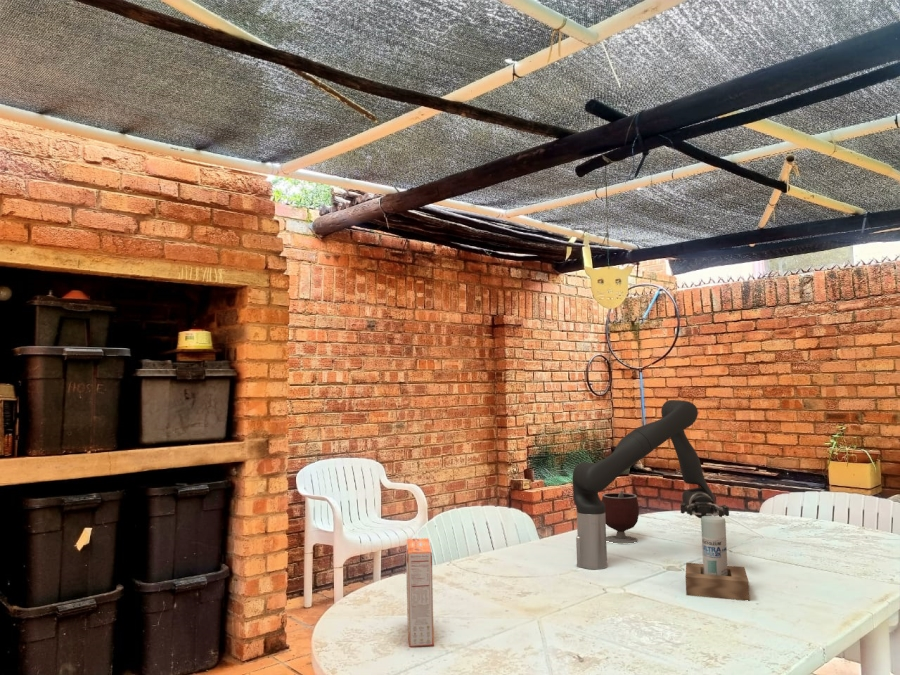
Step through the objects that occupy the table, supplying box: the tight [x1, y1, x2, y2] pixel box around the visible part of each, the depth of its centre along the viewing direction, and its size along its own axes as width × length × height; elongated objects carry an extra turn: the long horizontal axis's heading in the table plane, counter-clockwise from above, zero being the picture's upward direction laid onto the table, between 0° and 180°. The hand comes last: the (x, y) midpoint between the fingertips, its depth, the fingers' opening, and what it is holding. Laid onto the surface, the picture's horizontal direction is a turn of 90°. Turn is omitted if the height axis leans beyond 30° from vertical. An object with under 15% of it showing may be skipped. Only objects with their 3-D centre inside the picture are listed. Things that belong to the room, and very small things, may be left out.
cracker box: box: [405, 537, 435, 648], centre depth 150 cm, size 14×6×21 cm, turn 5°
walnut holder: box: [685, 562, 751, 602], centre depth 182 cm, size 16×16×5 cm
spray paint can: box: [700, 515, 728, 576], centre depth 183 cm, size 6×6×20 cm
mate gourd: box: [601, 490, 640, 544], centre depth 246 cm, size 16×14×20 cm
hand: (705, 512), depth 197 cm, fingers open, 8 cm apart
